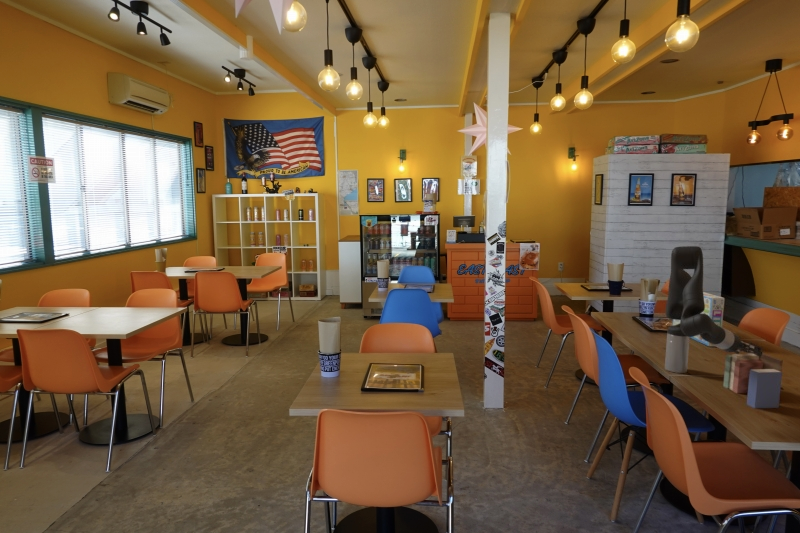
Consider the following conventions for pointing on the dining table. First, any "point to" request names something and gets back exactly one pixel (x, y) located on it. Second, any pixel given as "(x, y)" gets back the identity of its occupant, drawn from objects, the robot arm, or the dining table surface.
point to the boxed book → (764, 388)
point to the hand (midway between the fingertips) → (749, 352)
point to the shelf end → (746, 369)
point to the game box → (710, 313)
